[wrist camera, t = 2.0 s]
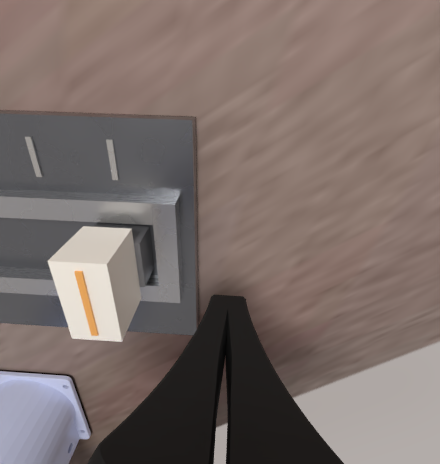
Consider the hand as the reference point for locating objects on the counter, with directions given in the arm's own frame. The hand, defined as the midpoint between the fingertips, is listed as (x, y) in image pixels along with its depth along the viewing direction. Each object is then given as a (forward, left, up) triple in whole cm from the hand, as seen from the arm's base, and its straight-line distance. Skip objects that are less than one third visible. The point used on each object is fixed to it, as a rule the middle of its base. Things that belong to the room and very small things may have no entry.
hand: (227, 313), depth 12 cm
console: (0, +13, -6) cm, 14 cm away
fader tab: (0, +6, -5) cm, 8 cm away
